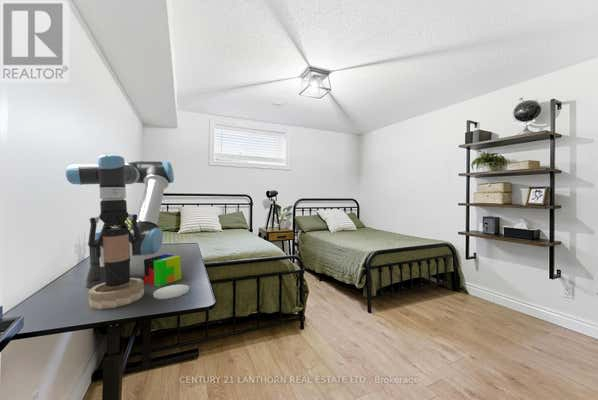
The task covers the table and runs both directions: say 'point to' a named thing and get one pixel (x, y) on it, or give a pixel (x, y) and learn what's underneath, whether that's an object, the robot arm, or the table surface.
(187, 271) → the table surface
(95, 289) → the holder ring
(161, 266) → the puzzle toy
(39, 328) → the table surface
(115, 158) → the robot arm
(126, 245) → the travel mug
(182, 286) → the white round disc
